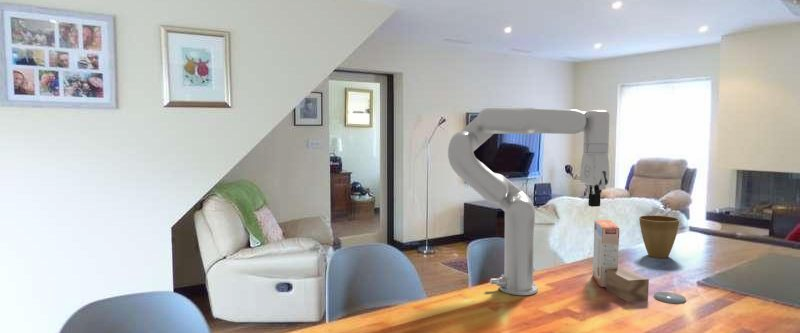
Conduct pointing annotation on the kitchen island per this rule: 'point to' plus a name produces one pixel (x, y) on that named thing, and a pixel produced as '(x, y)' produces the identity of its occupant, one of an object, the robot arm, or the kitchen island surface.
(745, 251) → the kitchen island surface
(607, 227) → the cracker box
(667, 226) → the plant pot
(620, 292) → the brown block
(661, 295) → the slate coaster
